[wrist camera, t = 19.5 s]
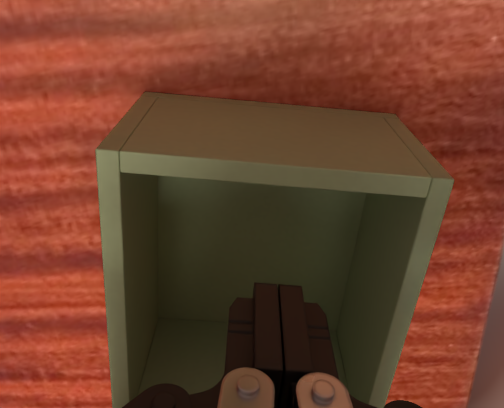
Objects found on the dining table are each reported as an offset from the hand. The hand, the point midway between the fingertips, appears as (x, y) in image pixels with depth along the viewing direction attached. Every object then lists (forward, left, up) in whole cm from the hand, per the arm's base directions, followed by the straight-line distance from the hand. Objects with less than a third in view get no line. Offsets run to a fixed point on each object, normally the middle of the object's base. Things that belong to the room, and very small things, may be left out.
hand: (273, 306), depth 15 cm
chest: (-3, +4, -14) cm, 15 cm away
